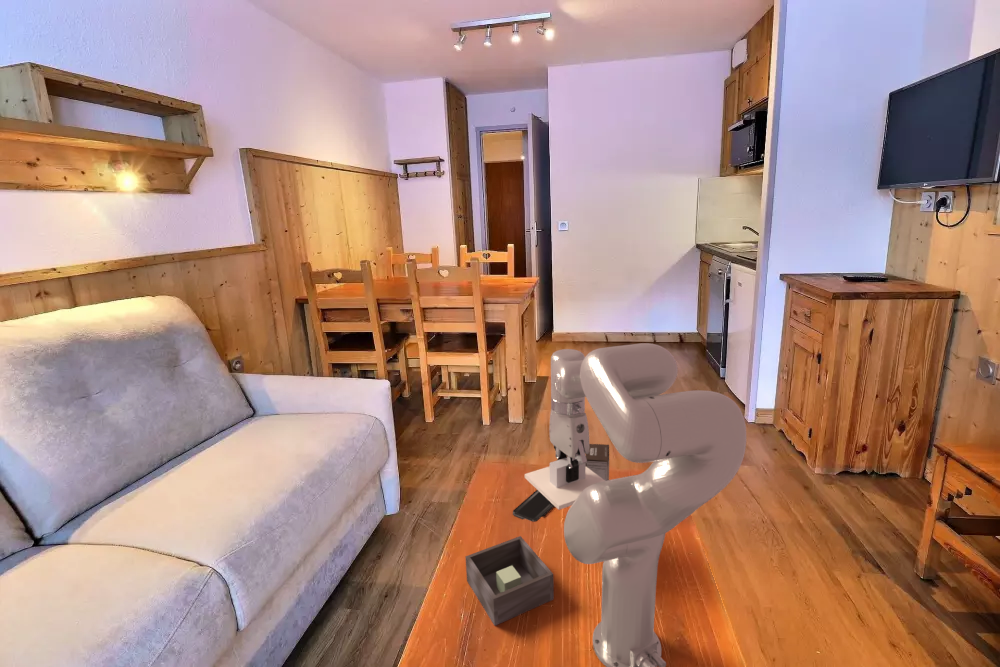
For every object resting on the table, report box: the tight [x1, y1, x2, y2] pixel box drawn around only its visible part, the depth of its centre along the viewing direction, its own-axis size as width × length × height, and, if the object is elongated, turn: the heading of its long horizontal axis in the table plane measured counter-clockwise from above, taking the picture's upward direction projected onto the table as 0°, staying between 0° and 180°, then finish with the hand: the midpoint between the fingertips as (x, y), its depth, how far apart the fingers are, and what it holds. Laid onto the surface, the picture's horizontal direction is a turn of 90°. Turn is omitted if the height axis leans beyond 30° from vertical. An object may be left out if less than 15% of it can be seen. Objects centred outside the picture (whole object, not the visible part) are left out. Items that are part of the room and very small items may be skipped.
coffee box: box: [585, 443, 610, 481], centre depth 136 cm, size 9×6×16 cm
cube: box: [496, 566, 521, 593], centre depth 107 cm, size 4×4×4 cm
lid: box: [524, 458, 605, 511], centre depth 115 cm, size 15×15×6 cm
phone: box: [512, 489, 555, 523], centre depth 138 cm, size 8×1×15 cm
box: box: [465, 535, 555, 626], centre depth 107 cm, size 14×14×7 cm
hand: (567, 476), depth 115 cm, fingers closed on lid, 3 cm apart
